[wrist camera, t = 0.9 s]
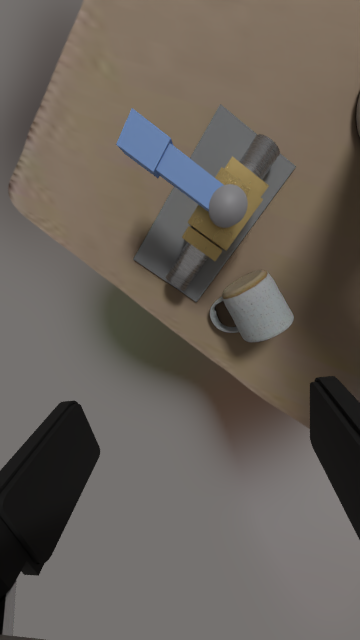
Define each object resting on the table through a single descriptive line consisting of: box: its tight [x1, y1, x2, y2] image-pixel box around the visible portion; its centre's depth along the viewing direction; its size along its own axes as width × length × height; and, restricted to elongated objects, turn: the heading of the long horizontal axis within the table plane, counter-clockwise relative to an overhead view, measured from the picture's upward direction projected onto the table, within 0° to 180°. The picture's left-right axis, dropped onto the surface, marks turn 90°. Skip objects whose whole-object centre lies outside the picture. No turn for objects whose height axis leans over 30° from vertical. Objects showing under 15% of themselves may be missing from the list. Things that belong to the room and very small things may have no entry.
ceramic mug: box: [210, 270, 294, 342], centre depth 31 cm, size 11×8×8 cm
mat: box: [134, 104, 296, 302], centre depth 31 cm, size 22×12×1 cm, turn 146°
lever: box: [117, 108, 248, 228], centre depth 21 cm, size 4×13×2 cm, turn 56°
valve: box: [166, 134, 280, 291], centre depth 27 cm, size 20×6×8 cm, turn 146°
